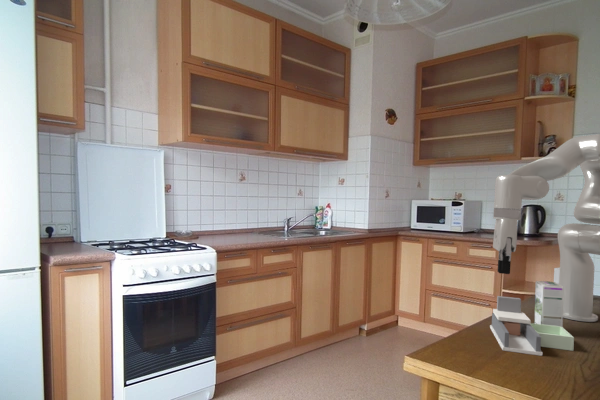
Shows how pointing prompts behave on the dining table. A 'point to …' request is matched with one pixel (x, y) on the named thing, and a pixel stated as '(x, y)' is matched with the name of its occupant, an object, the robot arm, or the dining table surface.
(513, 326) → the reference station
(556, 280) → the skincare box
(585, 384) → the dining table surface
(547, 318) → the syrup box
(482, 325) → the dining table surface
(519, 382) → the dining table surface
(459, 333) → the dining table surface
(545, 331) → the socket
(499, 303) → the cover
